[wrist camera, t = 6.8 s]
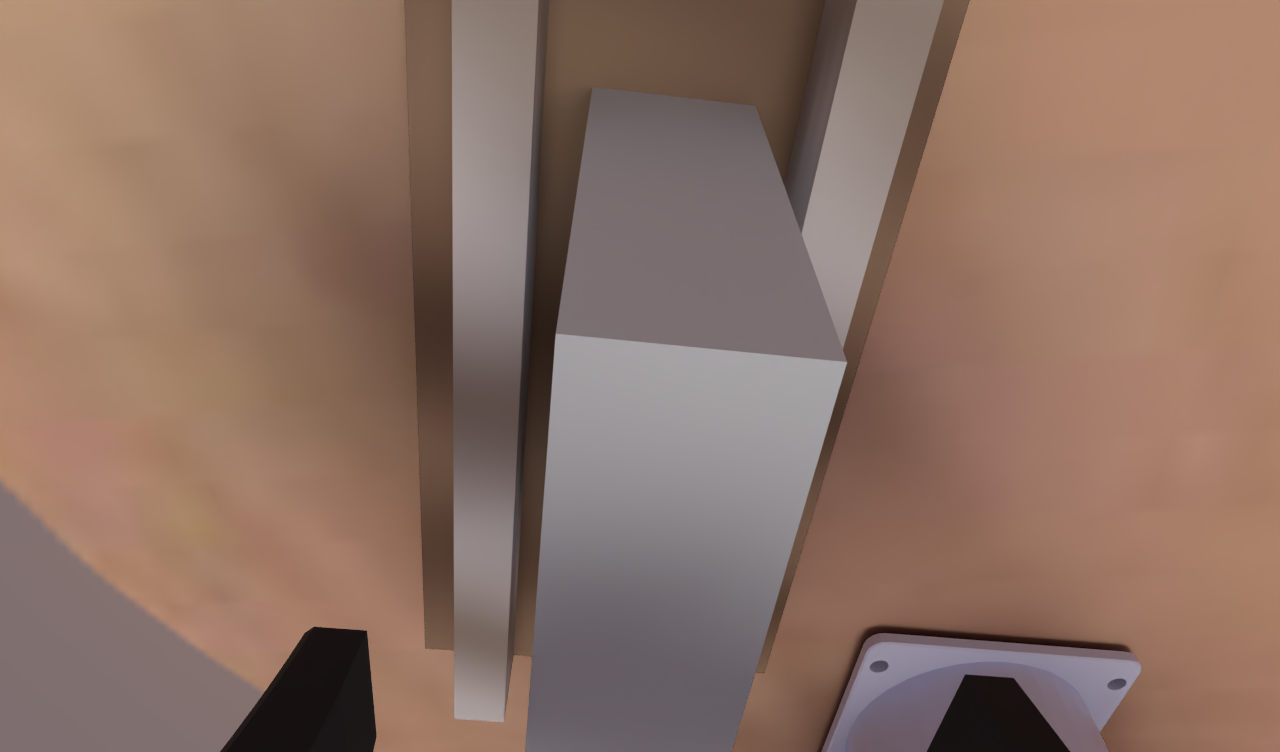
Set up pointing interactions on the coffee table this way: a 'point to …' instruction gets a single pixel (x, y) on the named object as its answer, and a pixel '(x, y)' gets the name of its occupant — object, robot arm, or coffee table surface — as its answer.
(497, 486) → the track base
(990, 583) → the coffee table surface
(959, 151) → the coffee table surface
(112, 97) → the coffee table surface
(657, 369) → the door panel
